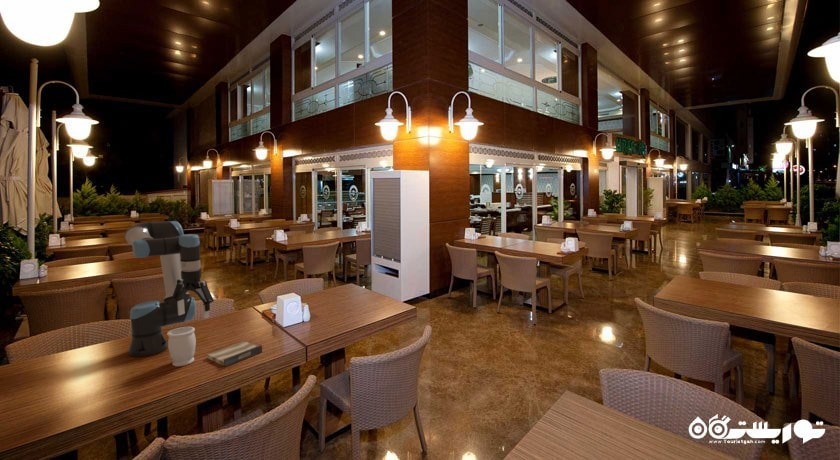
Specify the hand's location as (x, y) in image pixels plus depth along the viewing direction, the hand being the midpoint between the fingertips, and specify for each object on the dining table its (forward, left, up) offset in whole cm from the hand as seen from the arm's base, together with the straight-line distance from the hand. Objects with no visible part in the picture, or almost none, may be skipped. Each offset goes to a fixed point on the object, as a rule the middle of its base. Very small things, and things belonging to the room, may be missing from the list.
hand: (193, 316), depth 165 cm
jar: (-5, -3, -22) cm, 23 cm away
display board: (+7, +14, -22) cm, 27 cm away
